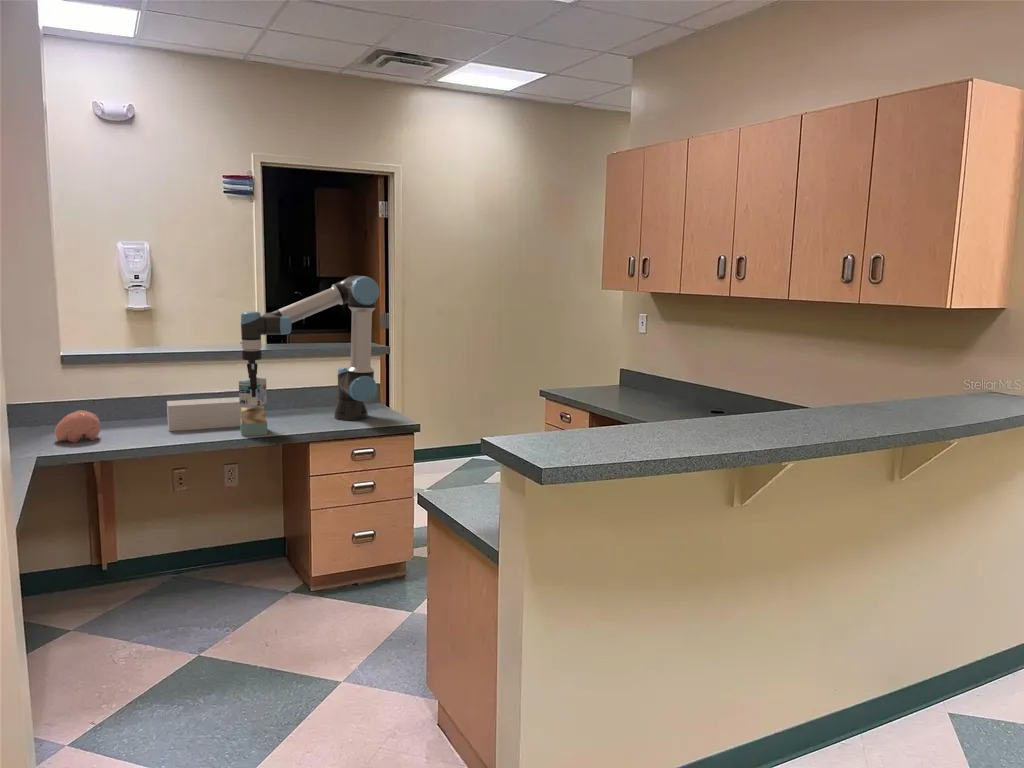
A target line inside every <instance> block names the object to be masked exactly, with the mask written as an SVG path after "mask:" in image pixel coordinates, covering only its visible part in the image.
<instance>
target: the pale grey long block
mask: <svg viewBox="0 0 1024 768" xmlns="http://www.w3.org/2000/svg"><path fill="white" fill-rule="evenodd" d="M241 408H246V407H240V405H239V396H238V397H237V396H236V397H235V396H234V397H222V398H221V397H218V398H216V397H215V398H201V399H199V398H198V399H182V400H181V399H179V400H166V410H167V411H166V412H167V428H168V432H172V431H189V430H190V431H191V430H200V429H201V430H202V429H215V428H216V429H217V428H218V429H219V428H233V427H234V428H235V427H240V419H241Z"/></svg>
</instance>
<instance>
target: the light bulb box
mask: <svg viewBox="0 0 1024 768" xmlns="http://www.w3.org/2000/svg"><path fill="white" fill-rule="evenodd" d="M248 387H250V378H249V377H248V378H245V379H241V380H238V397H239V405H240V407H250V408H255V407H261V406H263V405H266V404H268V399H267V398H268V397H267V394H268V393H267V378H264V377H257V402H258V405H250V389H248Z"/></svg>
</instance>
